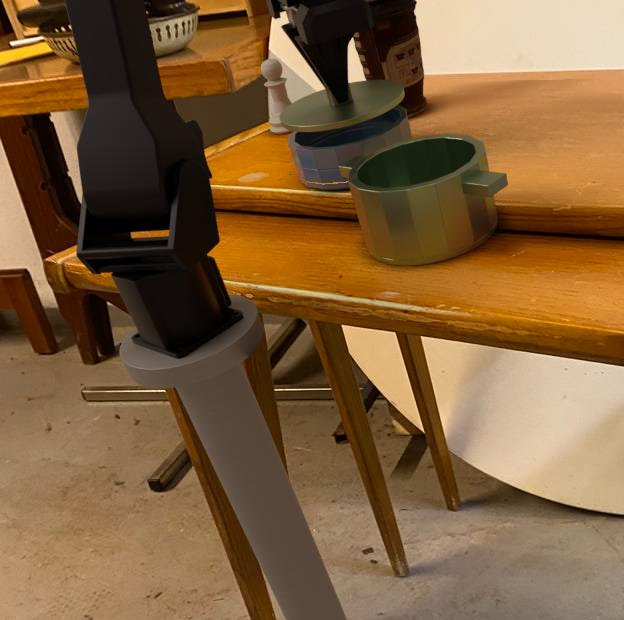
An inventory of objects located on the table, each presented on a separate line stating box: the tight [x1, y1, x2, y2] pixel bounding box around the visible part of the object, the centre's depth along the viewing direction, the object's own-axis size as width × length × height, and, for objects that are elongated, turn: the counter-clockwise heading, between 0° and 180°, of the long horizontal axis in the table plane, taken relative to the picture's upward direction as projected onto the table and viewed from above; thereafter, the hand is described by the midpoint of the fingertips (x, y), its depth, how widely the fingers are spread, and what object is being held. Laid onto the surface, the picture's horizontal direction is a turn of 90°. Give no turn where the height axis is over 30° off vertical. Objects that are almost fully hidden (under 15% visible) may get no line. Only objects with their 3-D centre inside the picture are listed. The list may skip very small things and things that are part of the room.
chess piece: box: [260, 58, 294, 135], centre depth 109 cm, size 5×5×8 cm
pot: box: [339, 133, 509, 267], centre depth 78 cm, size 12×17×6 cm
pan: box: [287, 105, 414, 191], centre depth 94 cm, size 12×12×4 cm
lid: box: [280, 79, 405, 132], centre depth 91 cm, size 13×13×5 cm
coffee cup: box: [352, 0, 428, 118], centre depth 104 cm, size 9×8×13 cm
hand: (339, 99), depth 91 cm, fingers closed on lid, 2 cm apart
